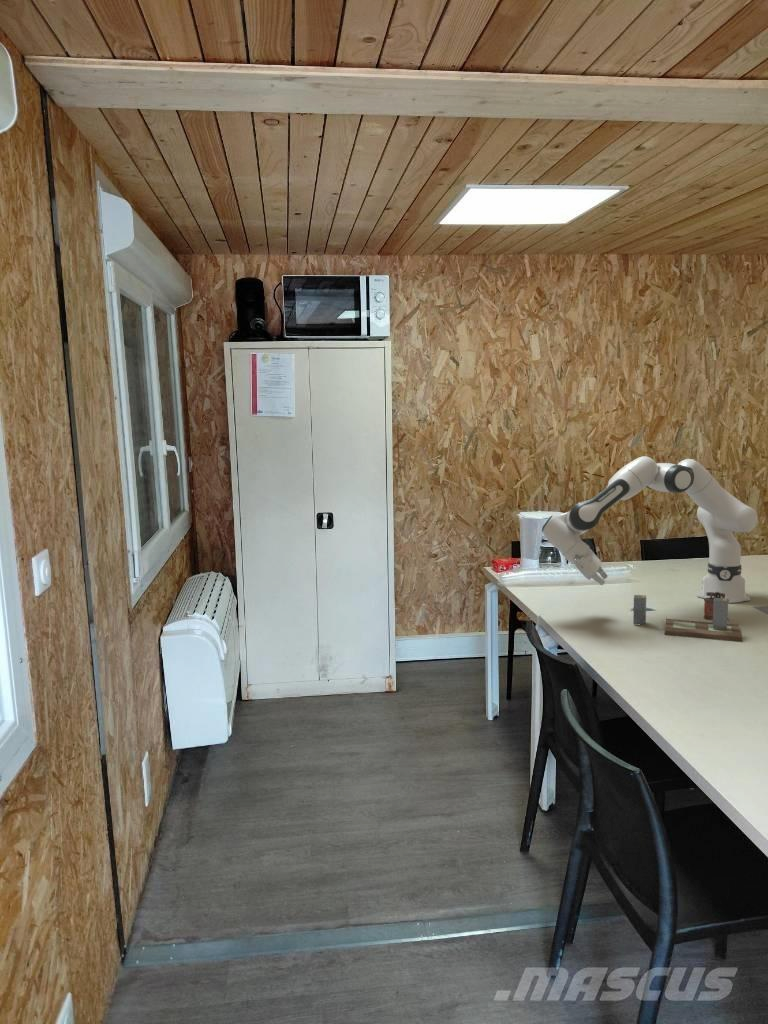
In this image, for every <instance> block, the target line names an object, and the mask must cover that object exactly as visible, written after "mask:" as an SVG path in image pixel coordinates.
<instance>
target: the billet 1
mask: <svg viewBox="0 0 768 1024" xmlns="http://www.w3.org/2000/svg"><path fill="white" fill-rule="evenodd" d="M632 618H633V620H632V622H633V624H640V625H639V626H641V625H645V624H646V623H647V595H645V594H634V595H633V617H632ZM645 626H646V625H645Z"/></svg>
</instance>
